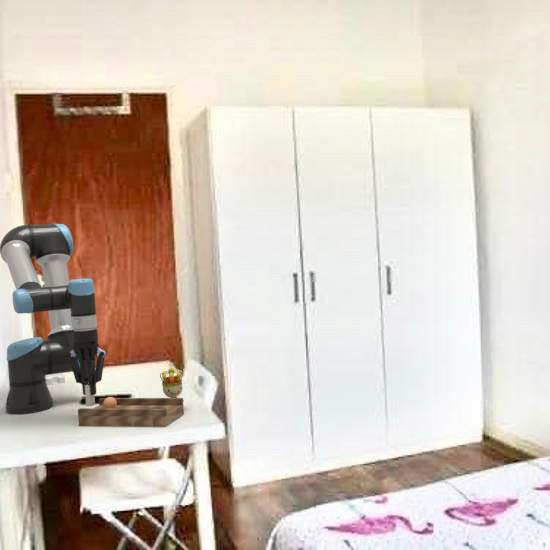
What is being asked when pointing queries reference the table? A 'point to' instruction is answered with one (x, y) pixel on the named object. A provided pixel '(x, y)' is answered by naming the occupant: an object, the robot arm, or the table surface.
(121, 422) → the brown wooden tray
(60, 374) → the slotted bracket
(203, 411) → the table surface
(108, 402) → the ball
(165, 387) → the toy
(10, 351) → the robot arm
